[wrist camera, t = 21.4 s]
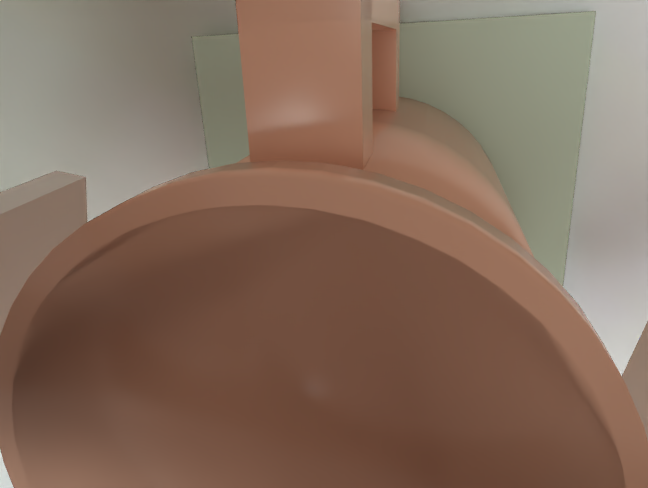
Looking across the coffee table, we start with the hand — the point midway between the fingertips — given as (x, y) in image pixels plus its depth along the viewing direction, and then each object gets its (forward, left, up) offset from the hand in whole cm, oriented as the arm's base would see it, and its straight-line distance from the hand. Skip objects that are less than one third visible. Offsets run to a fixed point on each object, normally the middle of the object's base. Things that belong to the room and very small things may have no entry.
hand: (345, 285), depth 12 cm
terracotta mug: (-1, 0, -6) cm, 6 cm away
